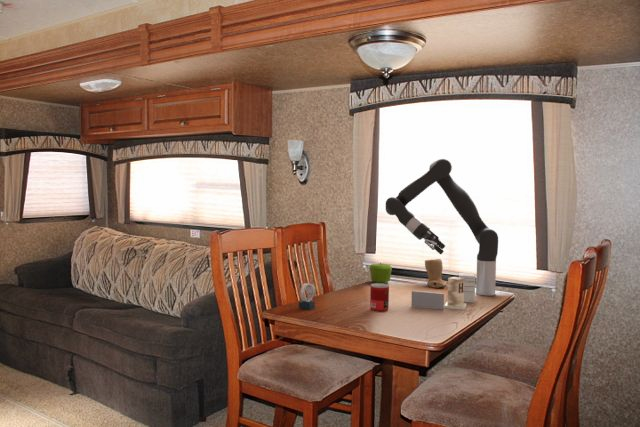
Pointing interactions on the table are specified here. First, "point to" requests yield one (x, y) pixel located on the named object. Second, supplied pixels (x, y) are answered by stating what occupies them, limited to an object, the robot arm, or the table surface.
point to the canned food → (379, 297)
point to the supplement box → (468, 286)
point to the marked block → (455, 291)
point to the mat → (455, 306)
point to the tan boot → (434, 272)
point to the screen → (427, 300)
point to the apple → (380, 273)
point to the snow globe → (307, 303)
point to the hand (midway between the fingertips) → (443, 250)
